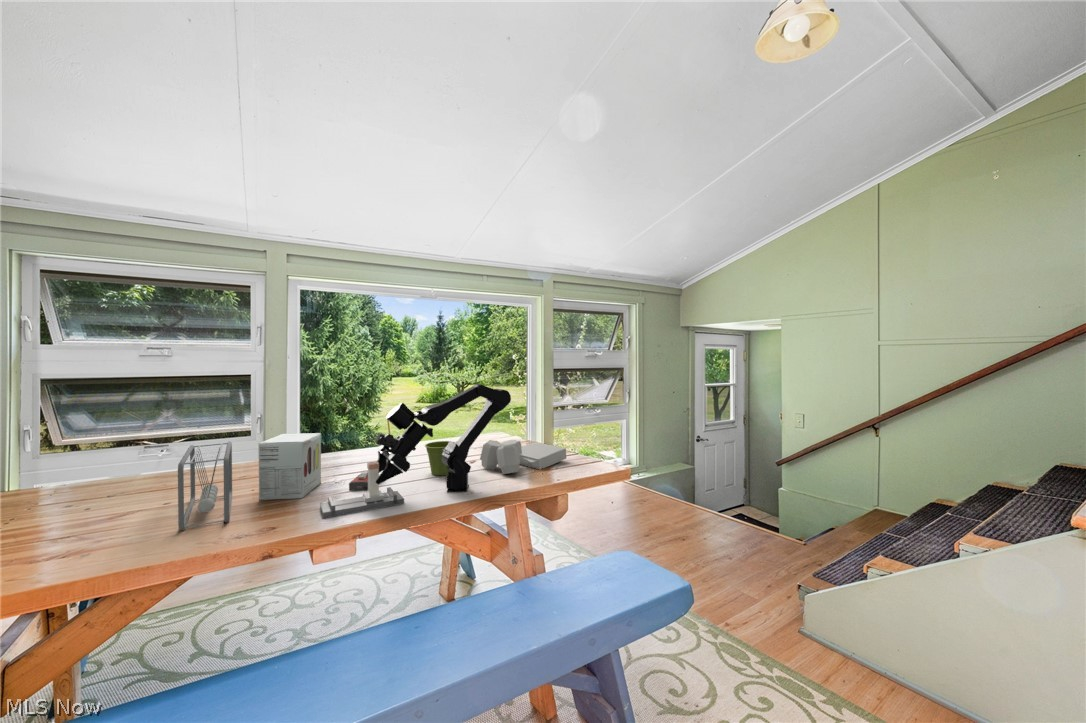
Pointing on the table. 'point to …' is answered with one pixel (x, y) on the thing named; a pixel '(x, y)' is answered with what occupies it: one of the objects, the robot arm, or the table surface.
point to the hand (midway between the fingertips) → (373, 479)
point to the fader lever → (373, 483)
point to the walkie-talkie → (360, 482)
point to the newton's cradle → (208, 491)
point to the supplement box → (289, 465)
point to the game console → (519, 455)
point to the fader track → (359, 504)
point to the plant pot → (437, 457)
